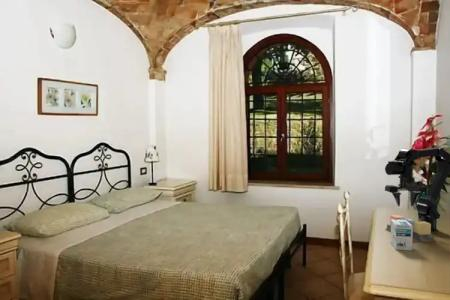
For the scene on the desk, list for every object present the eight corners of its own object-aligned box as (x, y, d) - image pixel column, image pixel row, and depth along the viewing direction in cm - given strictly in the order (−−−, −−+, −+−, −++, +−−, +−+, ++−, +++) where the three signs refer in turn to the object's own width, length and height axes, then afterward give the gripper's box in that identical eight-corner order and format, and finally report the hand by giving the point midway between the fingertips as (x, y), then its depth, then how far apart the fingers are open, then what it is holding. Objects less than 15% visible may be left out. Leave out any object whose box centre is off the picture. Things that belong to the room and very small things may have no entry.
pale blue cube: (409, 228, 184) (409, 218, 184) (414, 231, 179) (414, 220, 179) (399, 228, 184) (399, 218, 183) (404, 231, 179) (404, 220, 179)
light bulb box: (412, 251, 158) (413, 225, 158) (395, 250, 160) (396, 224, 159) (406, 243, 169) (406, 219, 168) (389, 242, 170) (390, 218, 170)
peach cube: (399, 224, 191) (399, 215, 191) (404, 227, 186) (405, 217, 186) (390, 224, 190) (390, 215, 190) (395, 227, 186) (395, 217, 185)
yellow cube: (424, 231, 178) (424, 221, 178) (430, 234, 173) (430, 224, 173) (414, 231, 178) (414, 221, 178) (420, 234, 173) (420, 224, 173)
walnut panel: (409, 229, 193) (409, 224, 193) (434, 241, 172) (434, 235, 172) (385, 229, 193) (385, 224, 193) (407, 241, 172) (407, 235, 172)
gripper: (395, 176, 180) (395, 209, 181) (434, 176, 181) (433, 209, 182) (384, 173, 191) (383, 205, 192) (421, 173, 192) (420, 204, 193)
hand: (405, 206), depth 189 cm, fingers open, 6 cm apart
